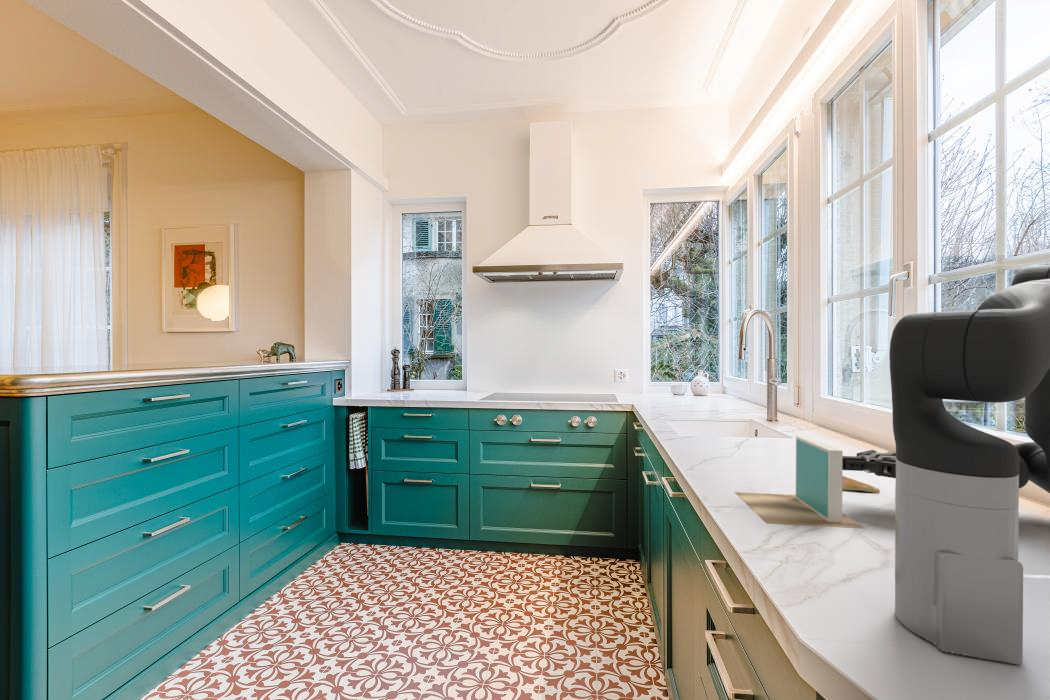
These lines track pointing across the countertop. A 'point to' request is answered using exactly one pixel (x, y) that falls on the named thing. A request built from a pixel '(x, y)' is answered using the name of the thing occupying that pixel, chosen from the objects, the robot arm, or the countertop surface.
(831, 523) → the plate
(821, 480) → the tile
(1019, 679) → the countertop surface
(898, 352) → the robot arm
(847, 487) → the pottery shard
